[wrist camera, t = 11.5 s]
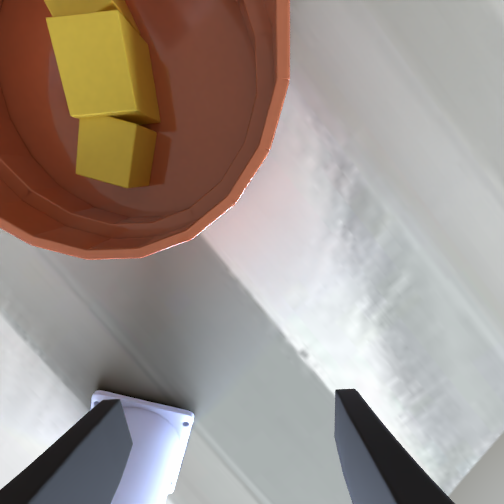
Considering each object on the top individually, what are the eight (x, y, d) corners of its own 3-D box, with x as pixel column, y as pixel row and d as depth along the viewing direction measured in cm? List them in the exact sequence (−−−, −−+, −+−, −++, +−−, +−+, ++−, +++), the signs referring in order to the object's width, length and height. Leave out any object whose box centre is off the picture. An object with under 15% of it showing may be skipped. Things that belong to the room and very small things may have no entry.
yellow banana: (171, 184, 15) (150, 186, 12) (108, 188, 15) (74, 192, 12) (133, -48, 12) (94, -117, 9) (56, -39, 12) (-6, -104, 9)
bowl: (237, 262, 17) (228, 297, 12) (-12, 194, 16) (-126, 204, 11) (321, -41, 12) (361, -175, 8) (-21, -161, 11) (-221, -399, 7)
